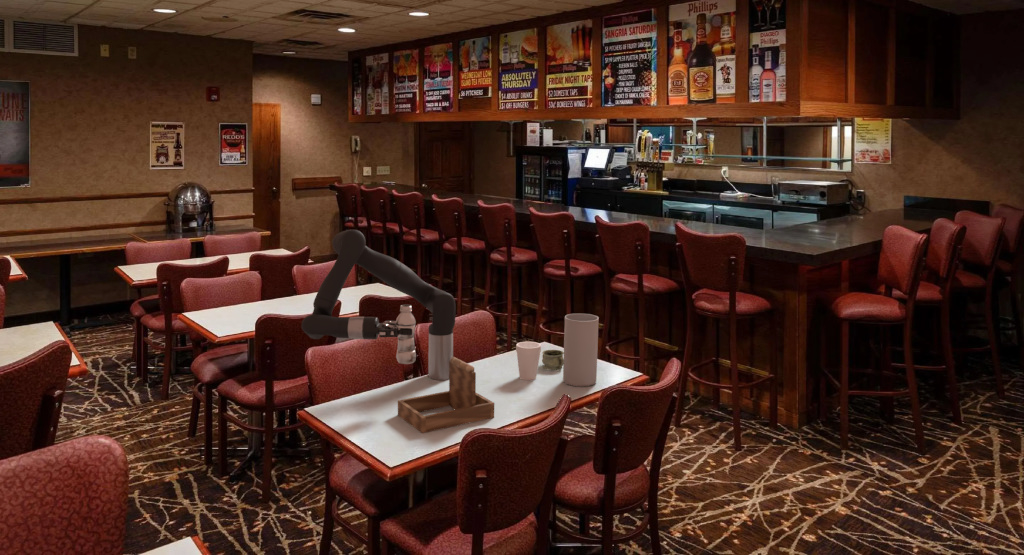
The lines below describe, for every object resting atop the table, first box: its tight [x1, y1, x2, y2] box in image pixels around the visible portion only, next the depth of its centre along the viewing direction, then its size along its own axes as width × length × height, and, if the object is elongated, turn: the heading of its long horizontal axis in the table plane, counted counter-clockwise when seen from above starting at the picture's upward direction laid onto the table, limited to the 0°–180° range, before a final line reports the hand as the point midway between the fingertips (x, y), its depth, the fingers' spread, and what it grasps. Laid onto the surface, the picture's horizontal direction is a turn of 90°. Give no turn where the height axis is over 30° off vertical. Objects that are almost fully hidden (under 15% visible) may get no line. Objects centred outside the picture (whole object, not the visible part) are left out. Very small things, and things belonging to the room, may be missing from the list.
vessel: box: [541, 349, 564, 371], centre depth 300 cm, size 12×9×6 cm
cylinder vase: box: [562, 313, 600, 388], centre depth 281 cm, size 12×12×25 cm
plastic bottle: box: [395, 304, 417, 365], centre depth 252 cm, size 6×7×20 cm
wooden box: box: [397, 356, 495, 434], centre depth 244 cm, size 18×26×18 cm
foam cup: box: [515, 341, 542, 381], centre depth 286 cm, size 10×9×13 cm
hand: (413, 329), depth 252 cm, fingers closed on plastic bottle, 6 cm apart
